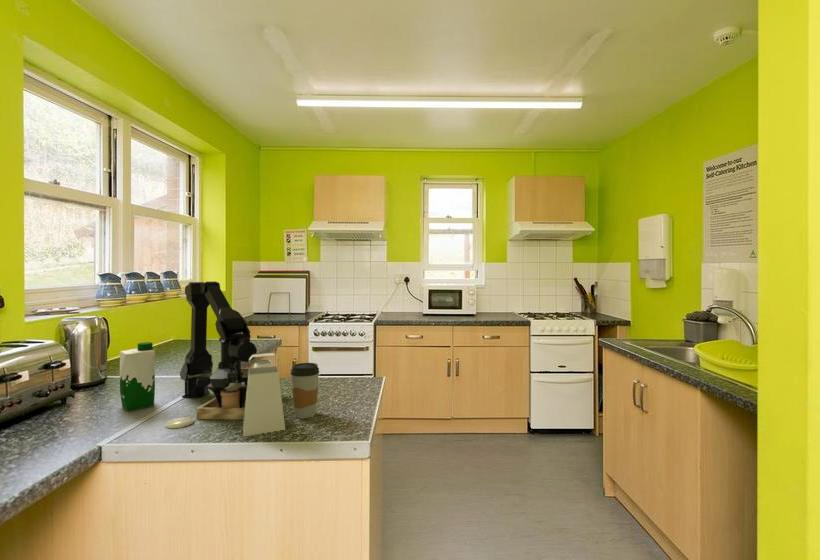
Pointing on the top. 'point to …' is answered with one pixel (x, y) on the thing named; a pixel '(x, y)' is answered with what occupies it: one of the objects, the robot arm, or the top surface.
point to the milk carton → (137, 377)
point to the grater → (263, 400)
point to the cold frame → (212, 412)
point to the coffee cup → (305, 389)
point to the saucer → (179, 422)
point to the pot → (230, 398)
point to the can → (263, 363)
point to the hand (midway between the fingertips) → (231, 408)
